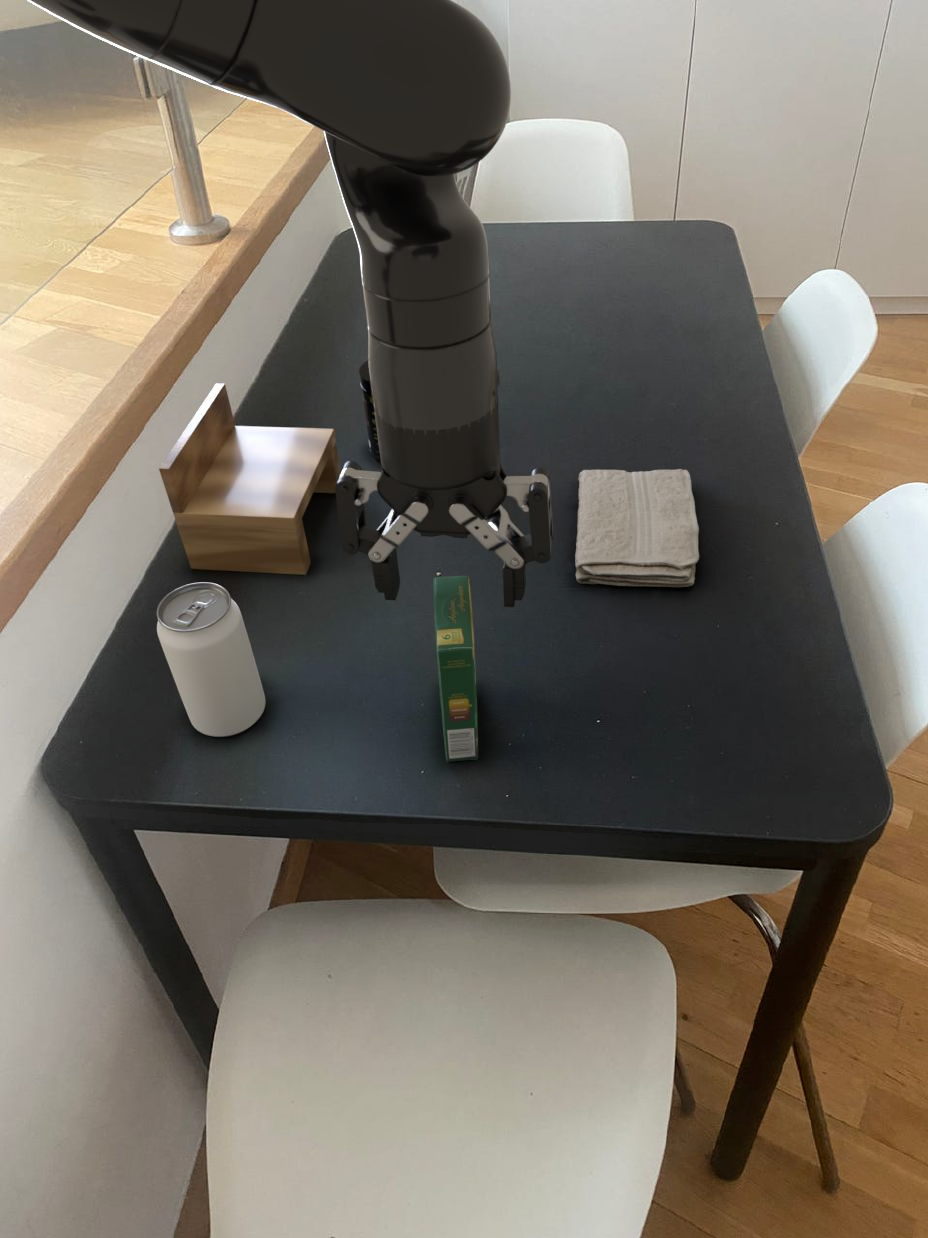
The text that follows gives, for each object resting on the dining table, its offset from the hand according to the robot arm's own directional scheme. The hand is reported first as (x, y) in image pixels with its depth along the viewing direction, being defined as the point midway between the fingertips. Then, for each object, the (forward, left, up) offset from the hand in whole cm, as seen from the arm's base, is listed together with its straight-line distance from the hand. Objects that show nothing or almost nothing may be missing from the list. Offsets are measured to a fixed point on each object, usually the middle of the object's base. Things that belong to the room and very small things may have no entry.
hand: (451, 596), depth 66 cm
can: (-20, 0, -15) cm, 25 cm away
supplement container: (-13, +41, -15) cm, 45 cm away
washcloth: (+14, +27, -15) cm, 34 cm away
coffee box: (0, 0, -15) cm, 15 cm away
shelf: (-24, +26, -14) cm, 38 cm away
